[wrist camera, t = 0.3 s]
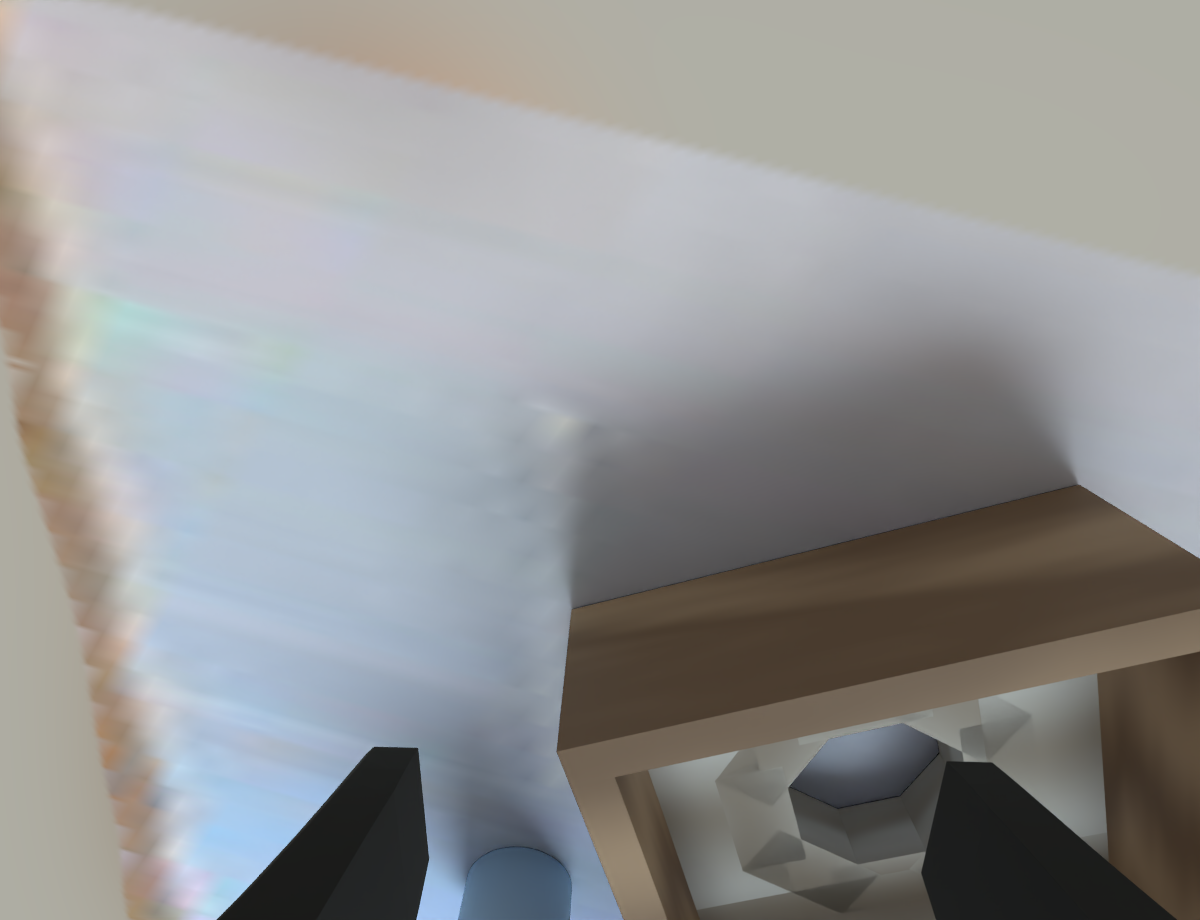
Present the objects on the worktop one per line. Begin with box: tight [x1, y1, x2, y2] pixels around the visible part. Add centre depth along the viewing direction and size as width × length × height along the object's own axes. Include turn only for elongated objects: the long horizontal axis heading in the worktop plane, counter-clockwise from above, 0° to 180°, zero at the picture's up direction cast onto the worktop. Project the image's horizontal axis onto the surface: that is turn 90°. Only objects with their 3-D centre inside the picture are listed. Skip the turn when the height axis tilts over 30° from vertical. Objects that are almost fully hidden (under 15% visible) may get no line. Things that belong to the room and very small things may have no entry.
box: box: [557, 485, 1200, 920], centre depth 19 cm, size 14×14×6 cm
